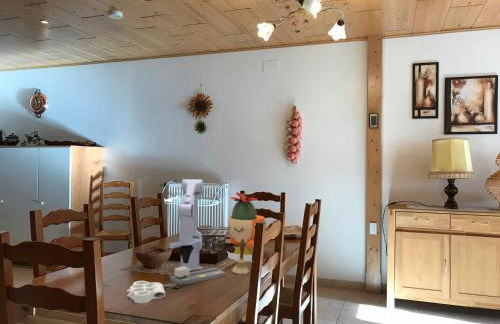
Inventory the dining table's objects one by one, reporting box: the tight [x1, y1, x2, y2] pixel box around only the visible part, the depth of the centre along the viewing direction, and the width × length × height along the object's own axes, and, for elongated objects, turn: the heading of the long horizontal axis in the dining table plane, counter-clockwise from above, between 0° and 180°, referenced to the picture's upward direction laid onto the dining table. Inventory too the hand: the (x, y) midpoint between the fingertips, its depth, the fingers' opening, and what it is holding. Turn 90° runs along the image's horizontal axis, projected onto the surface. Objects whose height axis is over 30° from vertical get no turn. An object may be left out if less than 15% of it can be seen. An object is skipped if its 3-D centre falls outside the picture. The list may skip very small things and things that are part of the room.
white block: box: [174, 266, 191, 278], centre depth 182 cm, size 7×5×3 cm
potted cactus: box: [227, 192, 266, 263], centre depth 228 cm, size 22×22×35 cm
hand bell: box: [231, 239, 250, 275], centre depth 197 cm, size 8×8×16 cm
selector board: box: [169, 267, 227, 286], centre depth 187 cm, size 9×24×2 cm, turn 128°
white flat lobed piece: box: [125, 280, 166, 304], centre depth 164 cm, size 3×18×15 cm
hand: (185, 262), depth 177 cm, fingers closed
